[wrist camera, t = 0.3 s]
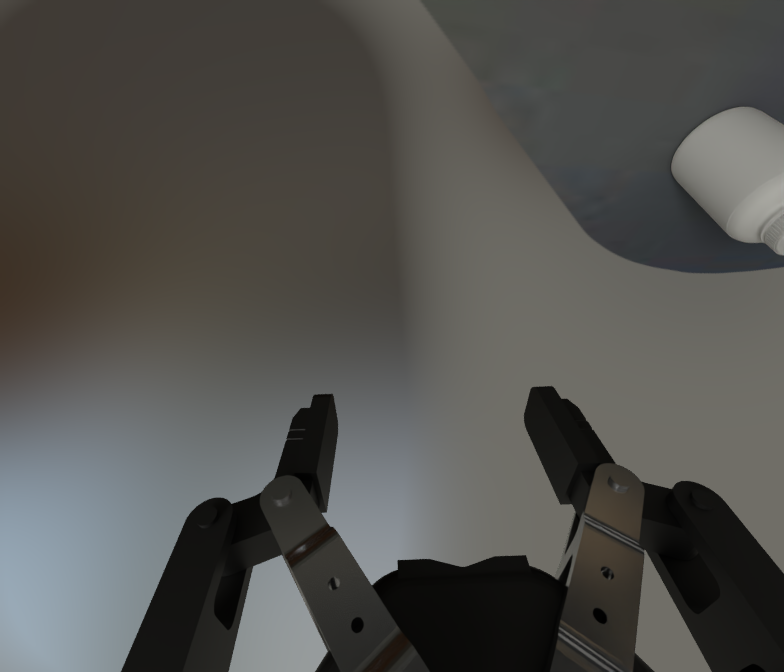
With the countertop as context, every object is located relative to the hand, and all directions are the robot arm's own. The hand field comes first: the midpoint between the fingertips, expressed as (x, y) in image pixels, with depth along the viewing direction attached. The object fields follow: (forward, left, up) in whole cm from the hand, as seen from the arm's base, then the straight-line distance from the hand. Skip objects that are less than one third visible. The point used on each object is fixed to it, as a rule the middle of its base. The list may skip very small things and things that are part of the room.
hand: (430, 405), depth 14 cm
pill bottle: (+25, +23, -31) cm, 46 cm away
